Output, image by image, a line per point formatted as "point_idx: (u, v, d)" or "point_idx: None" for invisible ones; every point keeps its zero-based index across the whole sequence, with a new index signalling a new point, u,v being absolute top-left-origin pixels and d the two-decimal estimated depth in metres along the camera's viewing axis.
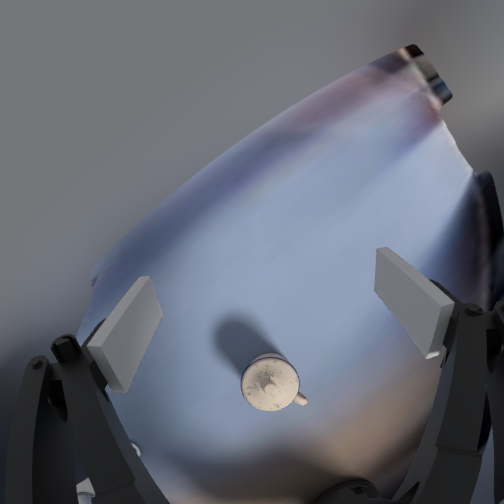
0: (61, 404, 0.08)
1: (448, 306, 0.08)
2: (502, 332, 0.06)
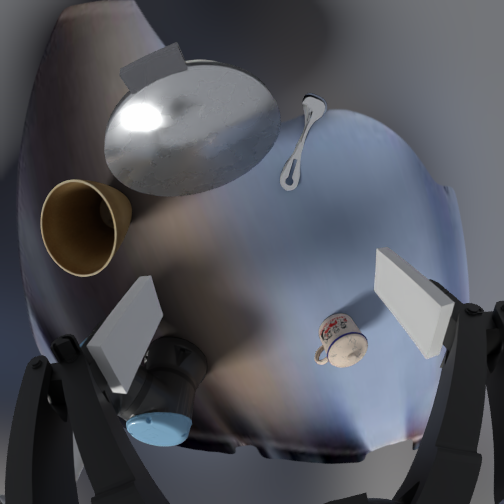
0: (61, 404, 0.08)
1: (448, 306, 0.08)
2: (502, 332, 0.06)
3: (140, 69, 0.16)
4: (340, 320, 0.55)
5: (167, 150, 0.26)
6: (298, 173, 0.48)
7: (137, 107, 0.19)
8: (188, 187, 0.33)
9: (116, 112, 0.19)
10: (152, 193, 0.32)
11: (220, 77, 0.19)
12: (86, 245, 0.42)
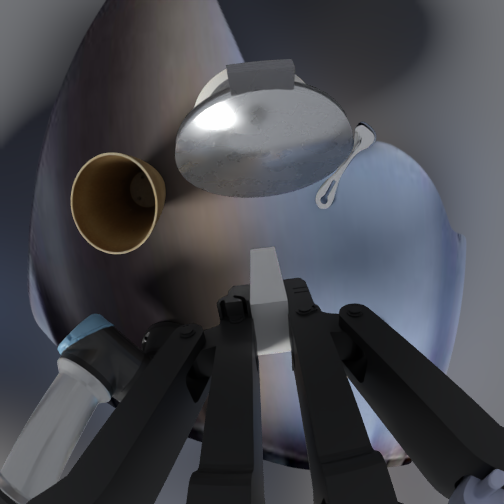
0: (210, 375, 0.10)
1: (279, 303, 0.11)
2: (359, 342, 0.08)
3: (250, 74, 0.17)
4: None
5: (239, 155, 0.27)
6: (333, 194, 0.49)
7: (230, 110, 0.20)
8: (241, 191, 0.34)
9: (206, 107, 0.20)
10: (205, 189, 0.33)
11: (318, 105, 0.20)
12: (112, 219, 0.43)
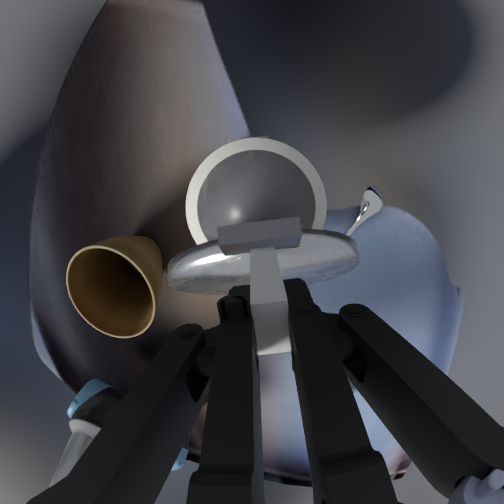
0: (211, 375, 0.10)
1: (279, 303, 0.11)
2: (359, 342, 0.08)
3: (246, 244, 0.16)
4: None
5: (236, 281, 0.26)
6: None
7: (225, 264, 0.20)
8: None
9: (197, 260, 0.20)
10: (202, 293, 0.32)
11: (325, 254, 0.20)
12: (110, 292, 0.42)
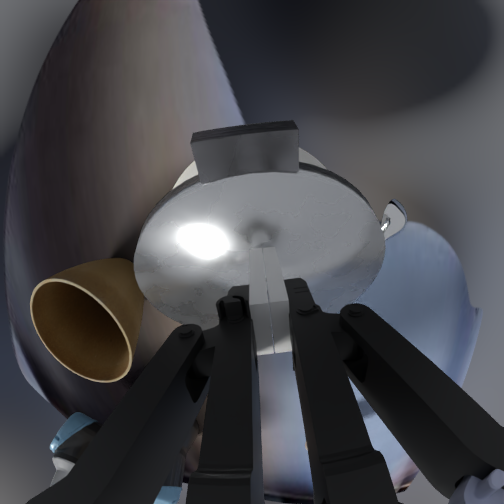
0: (210, 375, 0.10)
1: (280, 303, 0.11)
2: (360, 341, 0.08)
3: (227, 144, 0.12)
4: None
5: (224, 281, 0.20)
6: None
7: (202, 208, 0.14)
8: None
9: (166, 203, 0.14)
10: (185, 323, 0.24)
11: (338, 199, 0.15)
12: (86, 324, 0.34)
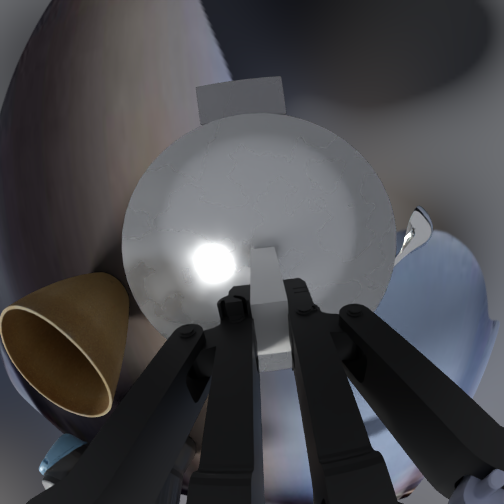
0: (210, 375, 0.10)
1: (279, 303, 0.11)
2: (359, 342, 0.08)
3: (224, 88, 0.14)
4: None
5: (217, 258, 0.17)
6: None
7: (199, 149, 0.15)
8: None
9: (167, 148, 0.15)
10: None
11: (327, 142, 0.15)
12: (66, 347, 0.28)
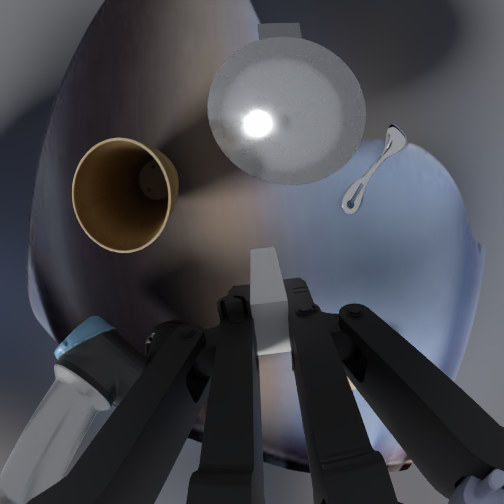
0: (210, 375, 0.10)
1: (279, 303, 0.11)
2: (359, 342, 0.08)
3: (272, 25, 0.24)
4: None
5: (265, 100, 0.28)
6: (360, 199, 0.45)
7: (259, 49, 0.25)
8: (265, 166, 0.31)
9: (242, 48, 0.25)
10: (228, 154, 0.30)
11: (322, 51, 0.25)
12: (118, 212, 0.39)
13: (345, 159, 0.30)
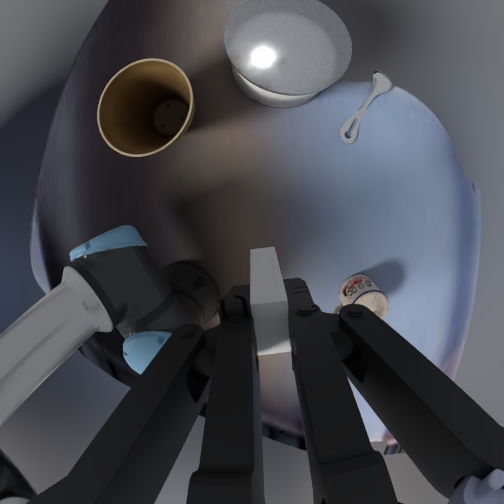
0: (211, 375, 0.10)
1: (279, 303, 0.11)
2: (359, 342, 0.08)
3: None
4: (364, 280, 0.55)
5: (270, 33, 0.29)
6: (356, 131, 0.46)
7: None
8: (273, 79, 0.32)
9: None
10: (241, 70, 0.32)
11: (312, 1, 0.26)
12: (135, 137, 0.40)
13: (338, 75, 0.32)
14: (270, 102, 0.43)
